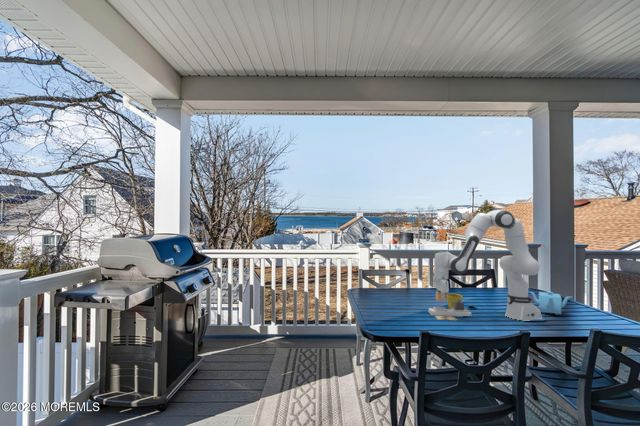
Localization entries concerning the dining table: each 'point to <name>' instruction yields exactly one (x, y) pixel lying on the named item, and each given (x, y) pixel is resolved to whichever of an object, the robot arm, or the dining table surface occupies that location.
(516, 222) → the robot arm
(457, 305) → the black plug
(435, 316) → the cork mat
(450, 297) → the plant pot
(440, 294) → the orange charger
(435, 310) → the power strip
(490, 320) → the dining table surface
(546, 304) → the teakettle
